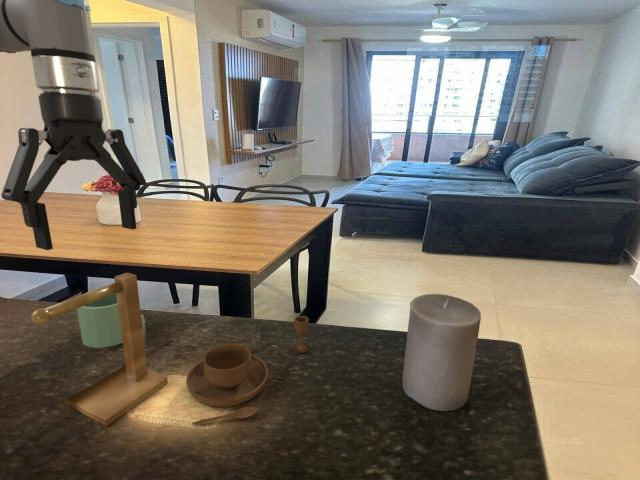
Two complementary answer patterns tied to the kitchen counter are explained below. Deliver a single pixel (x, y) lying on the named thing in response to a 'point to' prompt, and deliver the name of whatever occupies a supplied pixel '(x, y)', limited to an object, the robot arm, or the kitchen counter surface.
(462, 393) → the pillar candle
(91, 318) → the mug
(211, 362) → the place setting
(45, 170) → the robot arm
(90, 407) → the mug stand
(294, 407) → the kitchen counter surface
